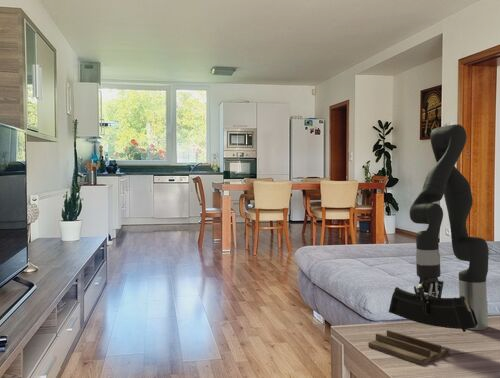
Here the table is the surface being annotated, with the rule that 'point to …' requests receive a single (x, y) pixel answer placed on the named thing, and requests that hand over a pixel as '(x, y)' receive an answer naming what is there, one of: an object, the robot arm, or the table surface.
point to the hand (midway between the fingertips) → (430, 312)
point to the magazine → (434, 310)
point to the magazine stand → (408, 347)
